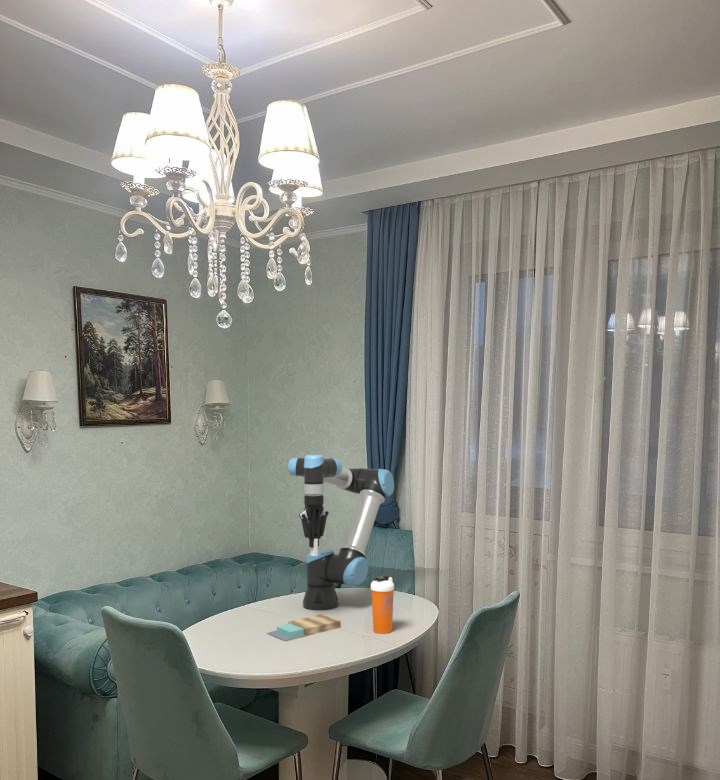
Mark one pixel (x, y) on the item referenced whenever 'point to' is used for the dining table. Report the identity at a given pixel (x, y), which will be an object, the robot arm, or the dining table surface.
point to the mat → (283, 636)
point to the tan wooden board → (316, 624)
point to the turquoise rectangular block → (290, 630)
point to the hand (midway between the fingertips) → (314, 555)
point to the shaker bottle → (382, 604)
